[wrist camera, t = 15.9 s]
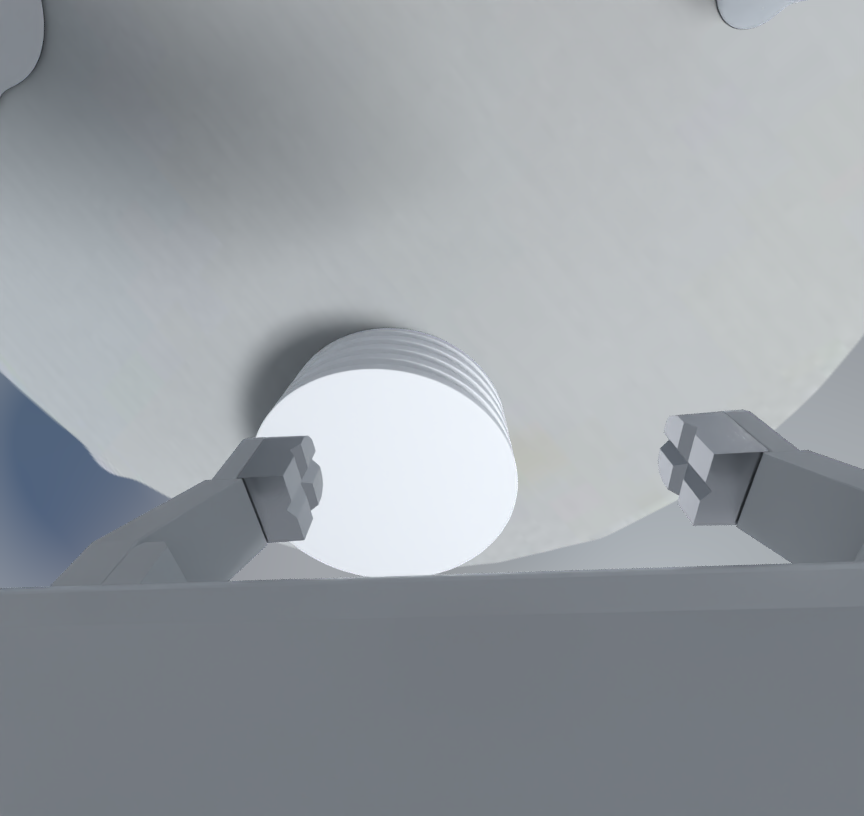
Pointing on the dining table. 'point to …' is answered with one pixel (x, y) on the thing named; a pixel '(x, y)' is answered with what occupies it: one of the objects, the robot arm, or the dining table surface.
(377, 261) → the dining table surface
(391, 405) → the plate stack
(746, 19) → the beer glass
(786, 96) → the dining table surface
